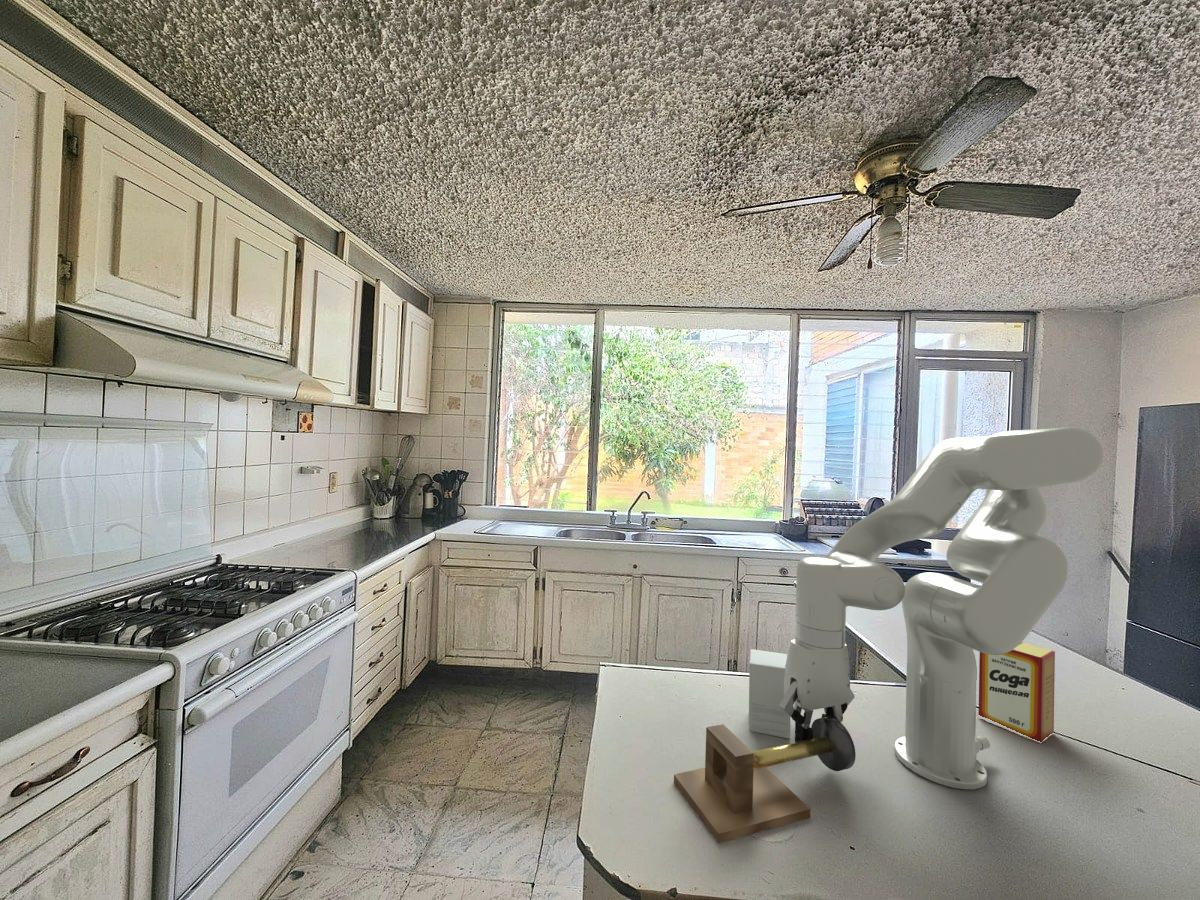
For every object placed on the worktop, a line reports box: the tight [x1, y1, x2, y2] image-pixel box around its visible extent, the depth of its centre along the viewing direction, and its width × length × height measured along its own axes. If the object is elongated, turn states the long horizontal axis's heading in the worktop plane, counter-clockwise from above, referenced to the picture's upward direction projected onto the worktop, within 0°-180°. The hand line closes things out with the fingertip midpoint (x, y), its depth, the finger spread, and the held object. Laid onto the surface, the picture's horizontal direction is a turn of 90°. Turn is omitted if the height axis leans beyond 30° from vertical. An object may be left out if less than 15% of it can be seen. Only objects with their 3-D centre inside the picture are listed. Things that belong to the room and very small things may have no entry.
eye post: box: [673, 723, 811, 844], centre depth 69 cm, size 15×12×9 cm
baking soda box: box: [978, 641, 1056, 742], centre depth 92 cm, size 10×6×16 cm
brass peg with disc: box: [751, 717, 857, 772], centre depth 73 cm, size 17×7×7 cm, turn 110°
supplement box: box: [748, 648, 791, 740], centre depth 89 cm, size 7×7×13 cm
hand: (816, 744), depth 77 cm, fingers closed on brass peg with disc, 4 cm apart
